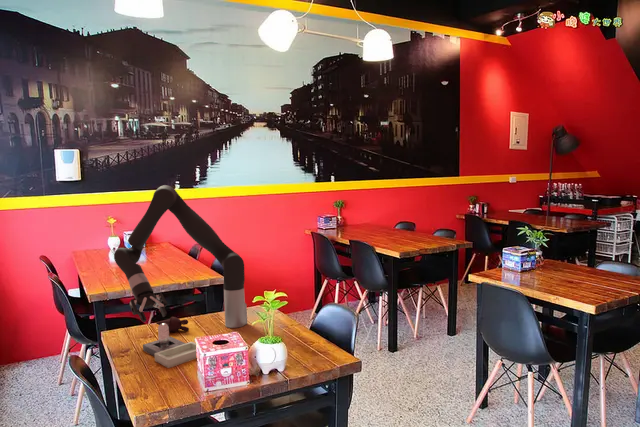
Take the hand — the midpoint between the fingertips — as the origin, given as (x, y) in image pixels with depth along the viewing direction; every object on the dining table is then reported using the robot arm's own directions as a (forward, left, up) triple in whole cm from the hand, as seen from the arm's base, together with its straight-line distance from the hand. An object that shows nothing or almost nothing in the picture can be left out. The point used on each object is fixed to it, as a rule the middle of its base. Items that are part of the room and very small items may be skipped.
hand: (155, 318), depth 194 cm
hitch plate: (0, +6, -12) cm, 13 cm away
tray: (0, +19, -12) cm, 22 cm away
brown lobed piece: (-14, -11, -12) cm, 21 cm away
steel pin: (0, +6, -12) cm, 13 cm away
